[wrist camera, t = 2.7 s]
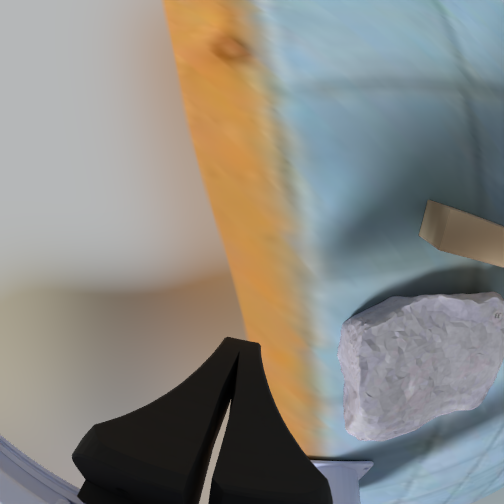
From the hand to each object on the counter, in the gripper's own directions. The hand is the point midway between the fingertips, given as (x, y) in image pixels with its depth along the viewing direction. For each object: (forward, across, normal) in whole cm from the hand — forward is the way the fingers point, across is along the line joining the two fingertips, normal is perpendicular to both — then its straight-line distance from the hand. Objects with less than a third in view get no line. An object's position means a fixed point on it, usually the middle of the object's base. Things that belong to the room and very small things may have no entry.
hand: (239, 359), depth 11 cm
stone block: (+6, -12, +2) cm, 13 cm away
